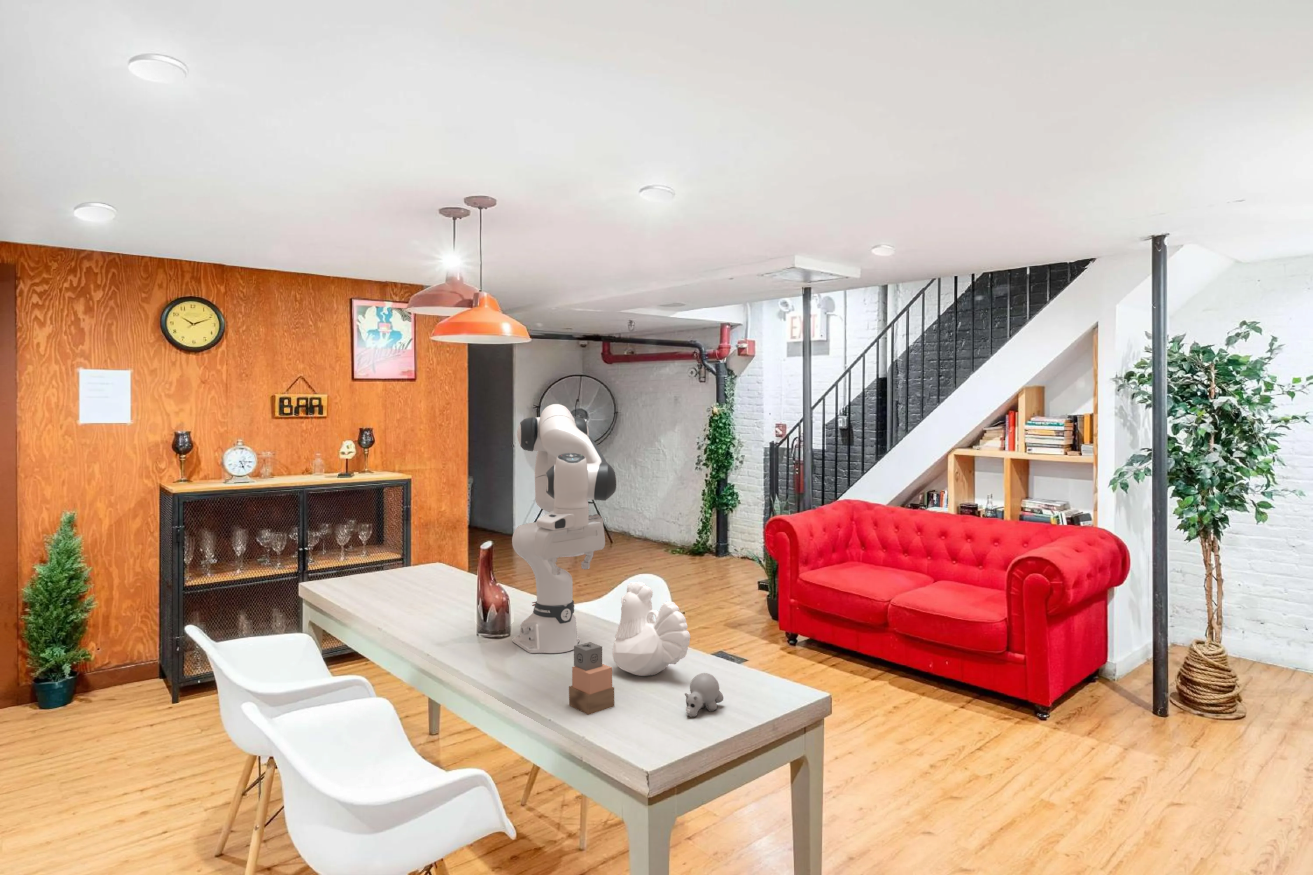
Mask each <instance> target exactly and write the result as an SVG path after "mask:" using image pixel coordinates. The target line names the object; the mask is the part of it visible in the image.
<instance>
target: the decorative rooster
mask: <svg viewBox="0 0 1313 875" xmlns="http://www.w3.org/2000/svg"><path fill="white" fill-rule="evenodd" d="M653 593H654V592H653V590H652V588H651V587H650V586H647V585H646V583H644V582H641V581H637V582H634V581H631V582H630V583H628V585H627V588H626V593H625V594H624V595H622V596H621V599H620V600H621V602H620V603H621V608H620V610H621V613H620V620H619V625H618V628H617V631H616V634H615V636H614V637H615V640H614V642H613V647H612V658H613V661H614V664H616V666H617V667H618V668H620V669H621V670H623V671H624V672H627V673H630V674H632V675H634V676H635V675H636V676H640V677H647V676H648V677H649V676H656V675H657V674H658V673H660V672H662V671H664V670H665V669H666V668H667V667H668V666H669V665H676V664H677V663H679V662H680V660H683V659H684V658H685V657H686V655H687V654H688V650H689V648H688V647H690V643H691V642H690V639H691V634H690V632H689V630H688V628H689V626H688V623H687V619H686V616H684V614H683V613H682V612H681V611H680V608H679V606H678V605H677V604H676V603H675V602H674V601H666V602H664V603H662V605H661V606H660V608H659V611H658V610H657V609H653V603H652V598H653V595H654V594H653ZM654 617H655V619H654Z"/></svg>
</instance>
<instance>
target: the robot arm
mask: <svg viewBox="0 0 1313 875" xmlns="http://www.w3.org/2000/svg"><path fill="white" fill-rule="evenodd" d="M589 431H590V430H589V426H588V424H587V421H586V420H585V419H584V418H582V417H578V416H573V414H572V413H571V411H570V410H569V409H568V407H567V406H565V405H562V404H561V403H560V404H559V403H553V404H550V405H548V406H546V407H545V408H544V409H543V410H542V412H541V414H540V416H538V417H536V416H535V417H534V416H531V417H526V418H524V419H523V420H521V421H520V423H519V426H518V427H517V433H516V436H517V442H518V443H519V445H520V448H522V450H524V451H528V452H533V451H536V452H537V454H536V459H535V465H534V491H535V492H534V494H535V496H534V497H535V503H536V505H537V506H538V507H539V508H540V509H541V510H543V511H545V512H548V513H545V514H544V515H542V516H540V517H539V518H537V519H536V521H533V522H528V523H525V524H520V525H518V526H517V527H516V528H515V530H514V532H513V534H512V538H511V542H512V543H511V545H512V548H513V550H514V552H515V553H516V554H517V555H518V556H519V558H522V559H523V560H524V561H525V562H526V563H527V564H528V565H529V567H530V568H531V569H532V572H533V575H534V578H535V587H536V601H532V602H531V603H532V604H531V606H532V607H533V612H532V613H531V614H530V615H529V616H528V617H527V618H526V619H524V620H523V621H522V622H521V624H520V629H519V635H516V636H515V637H513V638H512V642H513V643H514V644H516V645H517V646H518V647H520V648H522V650H525V652H528V653H530V654H540V653H541V654H561V653H566V652H571V651H574V646H576V645H579V643H580V642H581V641H580V636H578V628H577V619H576V616H575V615H574V613H575V600H574V599H573V597H574V596H573V588H574V587H573V584H574V583H573V577H572V575H571V573H570V572H568V571H567V570H566V569H563V568H561V567H560V566H558V565H557V562H558V558H565V557H567V558H568V557H579V556H583V555H585V557H584V559H583V561H581V562H580V563H581V564H580V565H581V566H580V567H581V569H582V570H589V569H590V568H591V562H592V559H593V557H594V552H597V551H601V550H603V549H604V548H605V545H606V538H605V536H606V535H605V529H604V519H603V517H602V516H601V515H599V514H593V515H591V514H589V513H590V512H589V511H590V510H589V509H590V508H589V507H590V506H589V502H588V500H592V501H593V500H594V501H602V502H603V501H607V500H608V499H610V498H611V497H612V496H613V495H614V493H615V492H616V490H617V475H616V472H615V469H614V468H613V467H612V466H611V464H609V463H608V461H607V460H606V458H605V456H604V455H603V453H602V452H601V450H600V448H599V447H598V445H597V443H596V442H595V440H594V439H593V437H592V436H590V432H589Z"/></svg>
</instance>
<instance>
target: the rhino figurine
mask: <svg viewBox="0 0 1313 875" xmlns="http://www.w3.org/2000/svg"><path fill="white" fill-rule="evenodd" d="M689 692H690V693H689V694H688V693H686V692H685V693H684V695H685V703H686V707H685V712H686V715H687V716H688V717H690V718H694V717H696V716H697V715H698V712H699V711H700V709H702V708H705V707H706V709H707V711H709V712H714V711H716V710H717V708H718V704H719V703H721V702H723V701H724V695H723V693H722V692H721V691H720V684H719V682H718V680H717V678H716V676H714V675H712V674H710V673H706V672H702V673H699V674H696V675H695V676H694V677H693V678H692V680H691V682H690V685H689Z"/></svg>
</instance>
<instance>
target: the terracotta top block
mask: <svg viewBox="0 0 1313 875" xmlns="http://www.w3.org/2000/svg"><path fill="white" fill-rule="evenodd" d="M571 668H572V670H571V674H572V676H571V677H572V678H571V682H572V683H571V684H572V685H571V686H572V687H574V688H576V689H578V690H580V691H583V692H585V693H587V694H593V693H596V692H599V691H602V690H606V689H609V688H612V687H613V667H612V666H609V665H607V664H604V663H602V667H598V668H595V669H591V670H587V671H585V670H583V669H580V668H578V667H576V666H574V665H573V666H572V667H571Z"/></svg>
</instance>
